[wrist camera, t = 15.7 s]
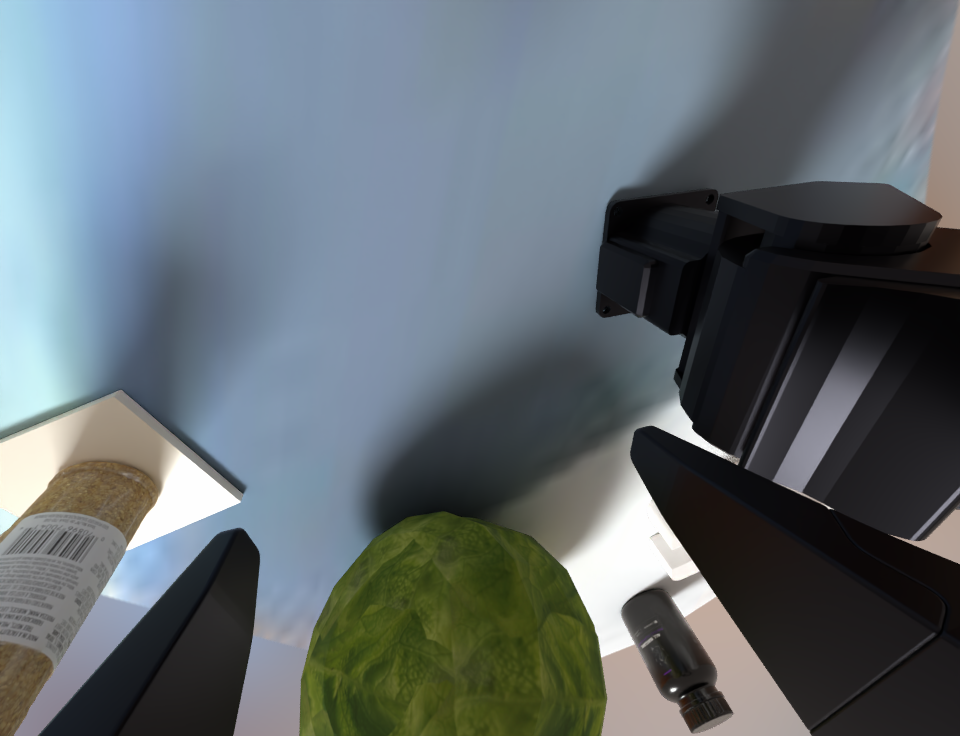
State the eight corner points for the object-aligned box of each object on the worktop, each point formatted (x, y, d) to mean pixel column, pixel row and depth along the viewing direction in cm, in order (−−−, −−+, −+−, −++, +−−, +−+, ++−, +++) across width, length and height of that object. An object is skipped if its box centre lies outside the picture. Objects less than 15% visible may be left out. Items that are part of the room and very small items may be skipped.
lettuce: (434, 635, 39) (524, 876, 27) (231, 608, 23) (219, 1171, 11) (553, 524, 40) (697, 707, 27) (436, 425, 24) (647, 751, 12)
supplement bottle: (624, 595, 45) (695, 723, 35) (672, 581, 46) (753, 700, 36) (614, 622, 49) (676, 745, 39) (659, 608, 50) (730, 723, 40)
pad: (120, 389, 18) (113, 396, 18) (243, 494, 23) (240, 502, 23) (-56, 462, 18) (-68, 471, 17) (107, 552, 23) (101, 561, 22)
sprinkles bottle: (36, 495, 19) (-429, 984, 8) (85, 443, 18) (-354, 903, 7) (133, 526, 22) (-118, 932, 10) (181, 481, 21) (-37, 867, 10)
